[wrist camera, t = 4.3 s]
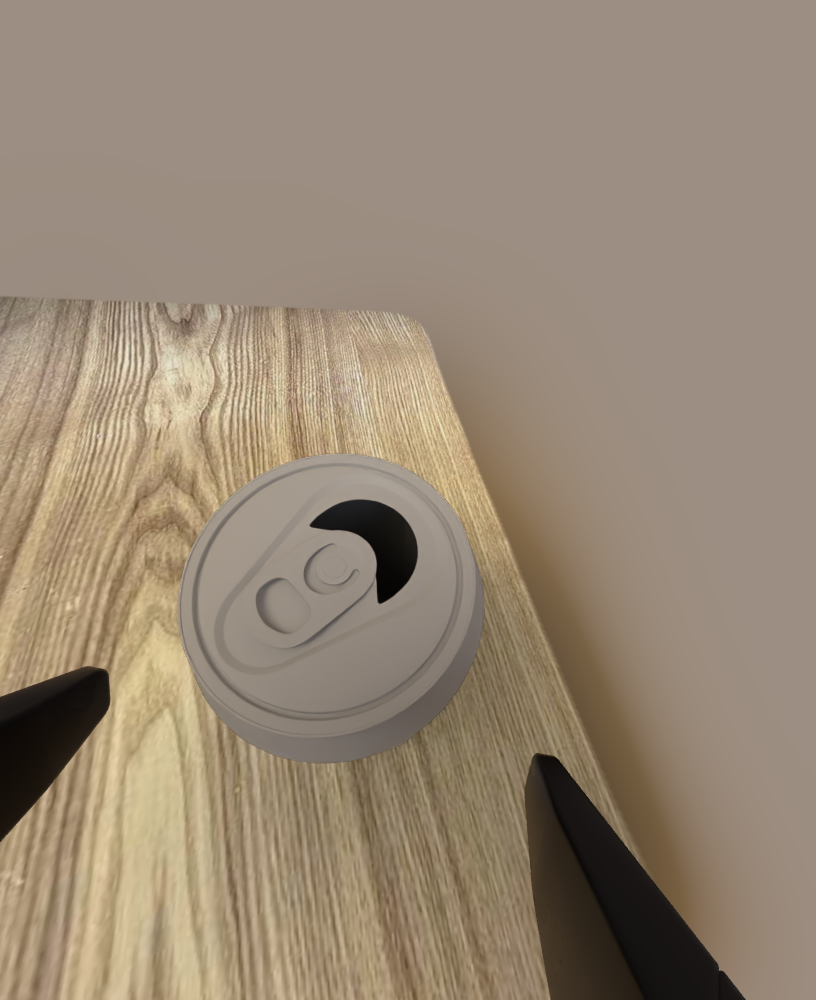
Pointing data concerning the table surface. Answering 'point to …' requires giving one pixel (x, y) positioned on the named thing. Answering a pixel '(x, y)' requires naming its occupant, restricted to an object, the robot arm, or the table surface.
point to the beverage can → (331, 608)
